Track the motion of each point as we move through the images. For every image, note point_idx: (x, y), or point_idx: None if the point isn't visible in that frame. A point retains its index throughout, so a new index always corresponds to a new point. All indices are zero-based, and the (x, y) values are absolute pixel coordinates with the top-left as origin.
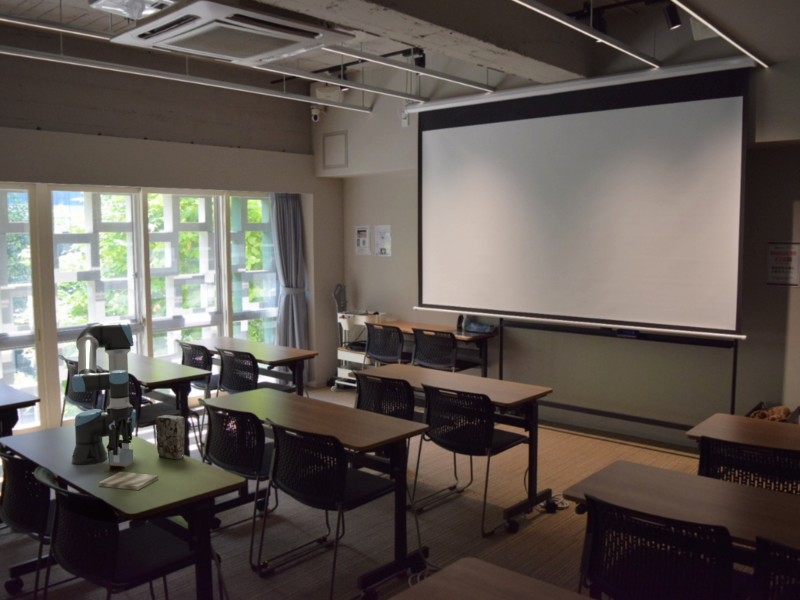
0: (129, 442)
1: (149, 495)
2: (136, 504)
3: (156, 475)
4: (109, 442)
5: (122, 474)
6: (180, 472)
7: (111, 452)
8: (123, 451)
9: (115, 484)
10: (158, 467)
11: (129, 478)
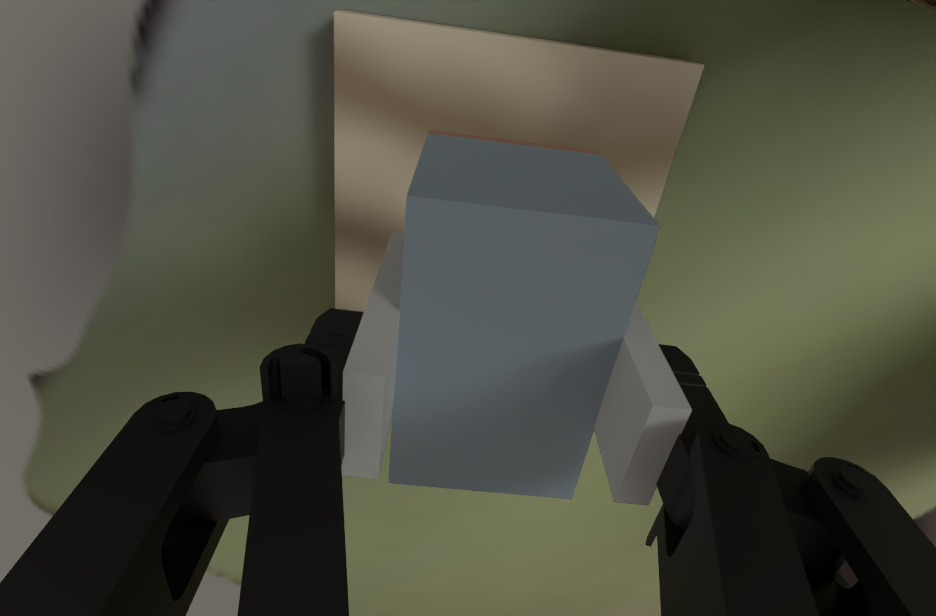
0: (647, 541)
1: None
2: None
3: None
4: (76, 511)
5: (609, 140)
6: None
7: (405, 241)
8: (445, 433)
9: (335, 217)
10: (876, 311)
11: None
